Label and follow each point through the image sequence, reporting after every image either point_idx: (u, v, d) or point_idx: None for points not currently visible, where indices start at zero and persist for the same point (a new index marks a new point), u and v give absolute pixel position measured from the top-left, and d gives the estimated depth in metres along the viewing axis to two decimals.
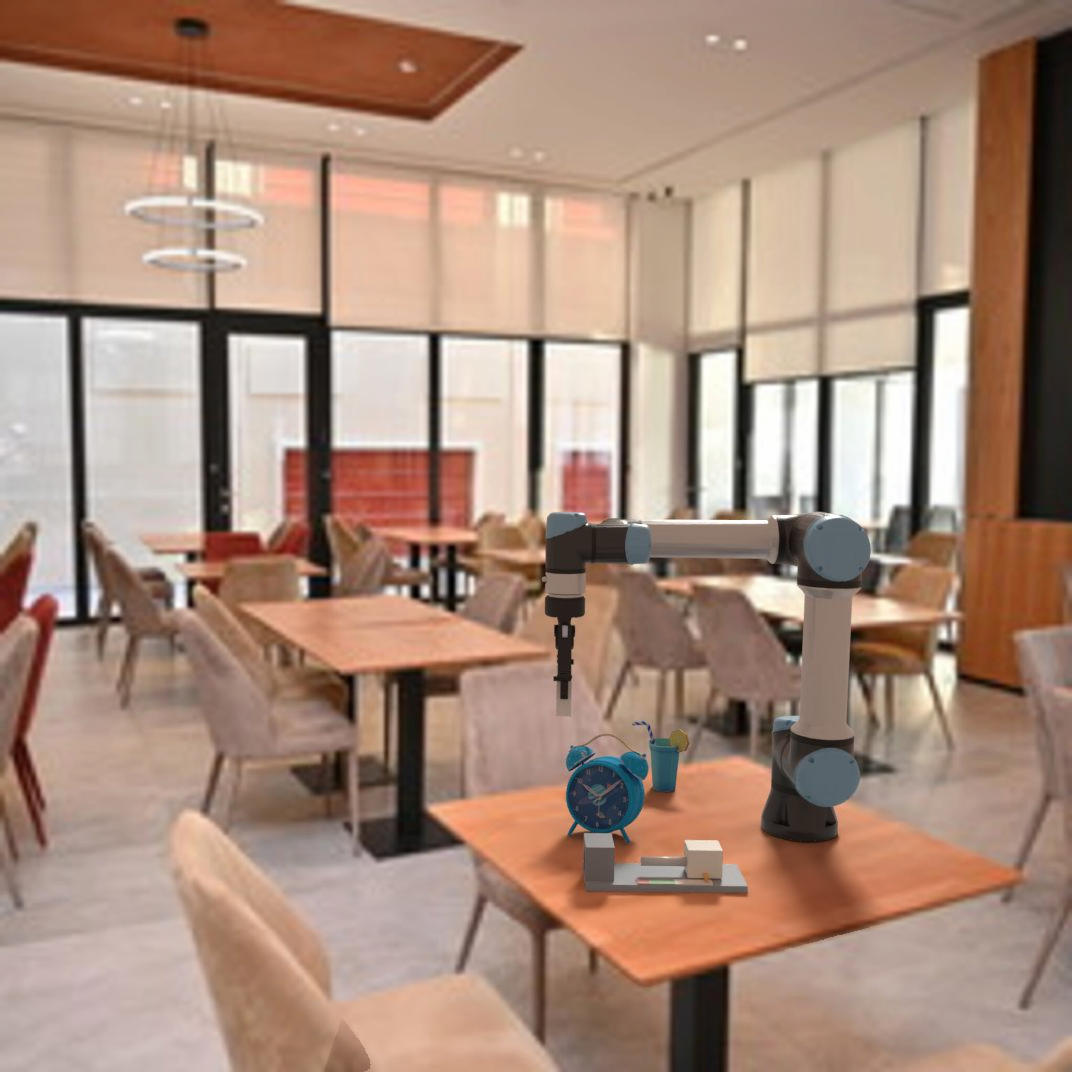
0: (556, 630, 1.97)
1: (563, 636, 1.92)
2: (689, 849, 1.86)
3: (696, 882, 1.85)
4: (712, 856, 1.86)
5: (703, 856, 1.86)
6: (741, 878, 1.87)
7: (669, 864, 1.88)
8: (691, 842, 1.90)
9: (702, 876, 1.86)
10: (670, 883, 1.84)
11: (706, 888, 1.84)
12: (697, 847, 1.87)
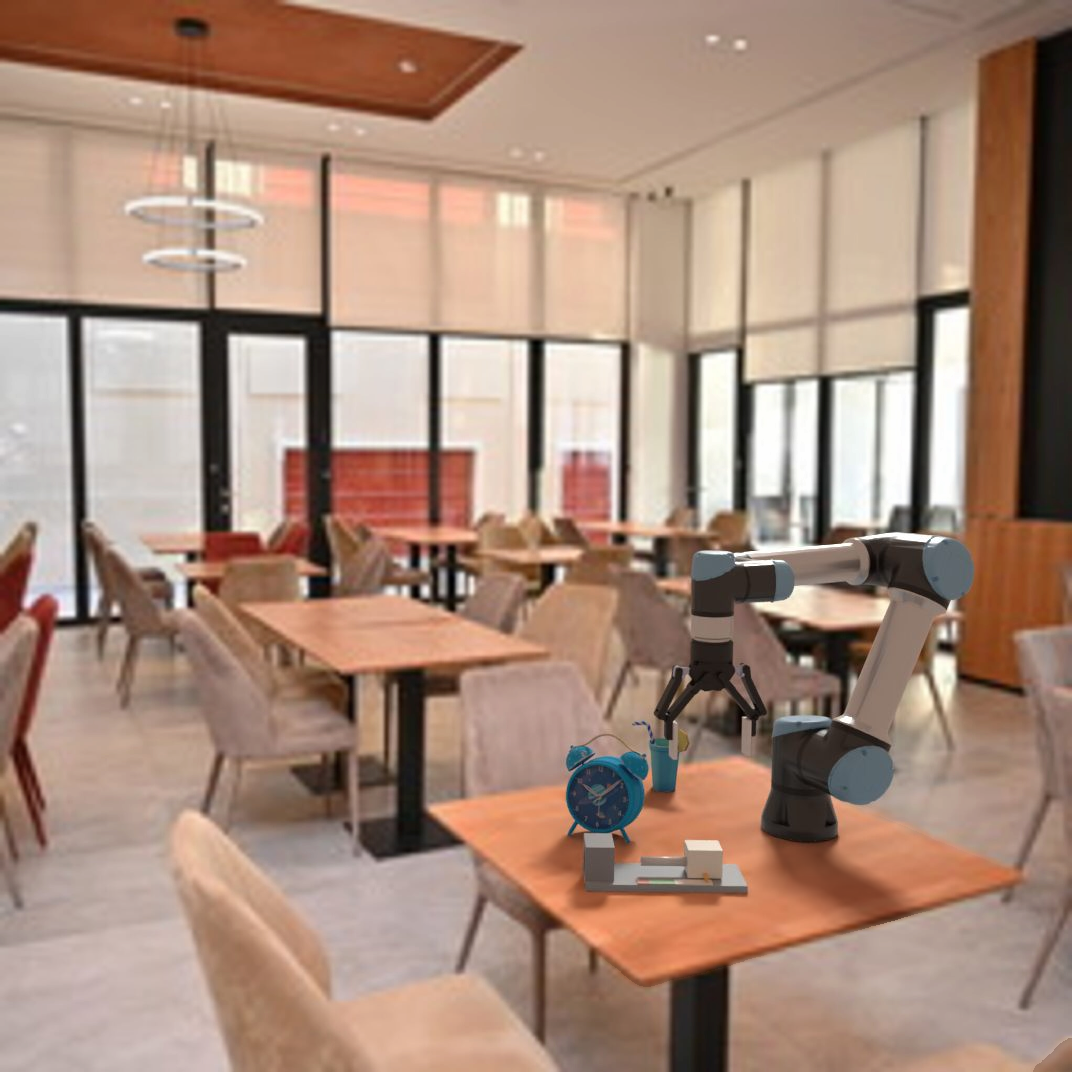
0: None
1: (673, 676, 1.88)
2: (689, 849, 1.86)
3: (696, 882, 1.85)
4: (712, 856, 1.86)
5: (703, 856, 1.86)
6: (741, 878, 1.87)
7: (669, 864, 1.88)
8: (691, 842, 1.90)
9: (702, 876, 1.86)
10: (670, 883, 1.84)
11: (706, 888, 1.84)
12: (697, 847, 1.87)
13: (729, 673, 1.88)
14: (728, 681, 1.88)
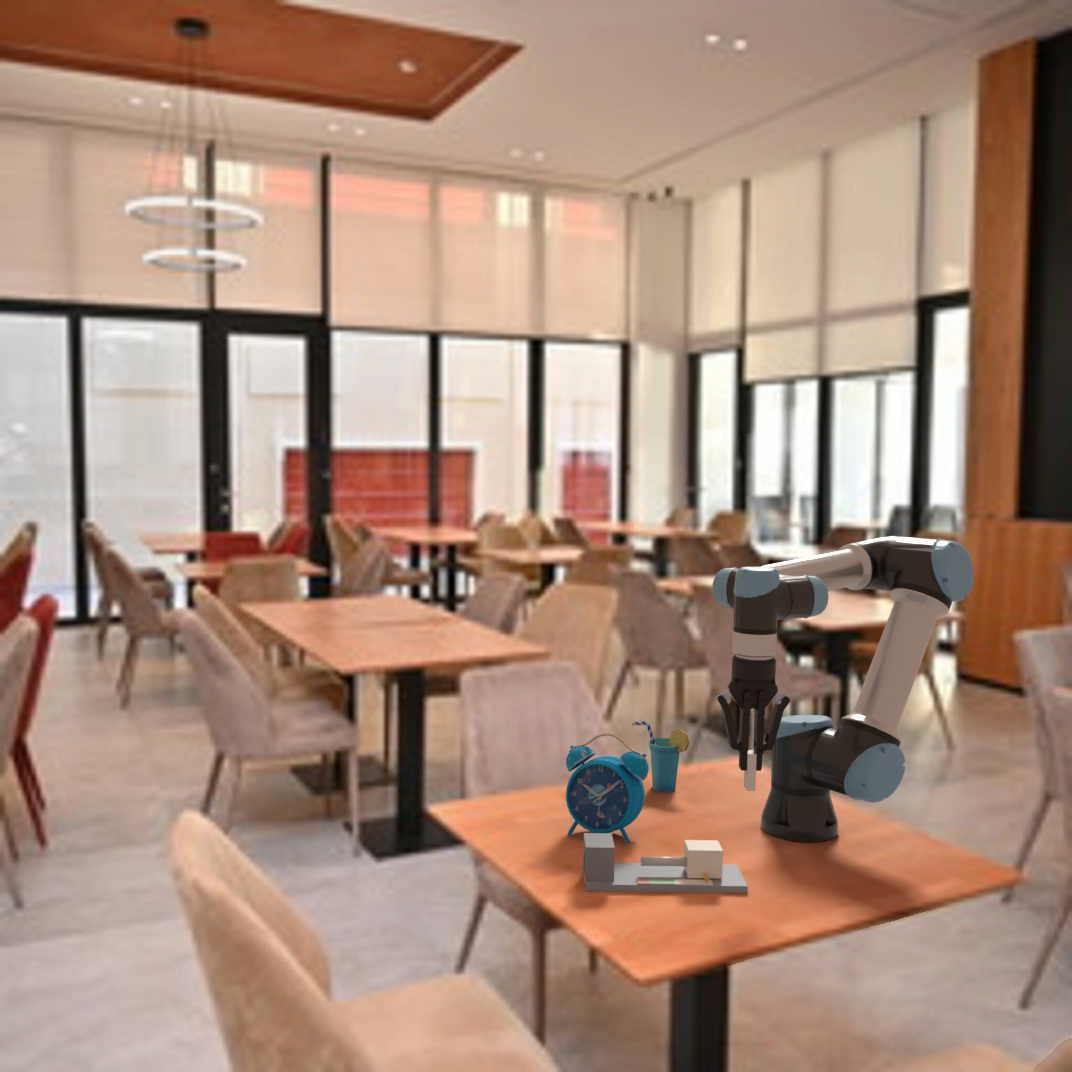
0: None
1: (721, 705, 1.87)
2: (689, 849, 1.86)
3: (696, 882, 1.85)
4: (712, 856, 1.86)
5: (703, 856, 1.86)
6: (741, 878, 1.87)
7: (669, 864, 1.88)
8: (691, 842, 1.90)
9: (702, 876, 1.86)
10: (670, 883, 1.84)
11: (706, 888, 1.84)
12: (697, 847, 1.87)
13: (769, 691, 1.85)
14: (763, 703, 1.85)
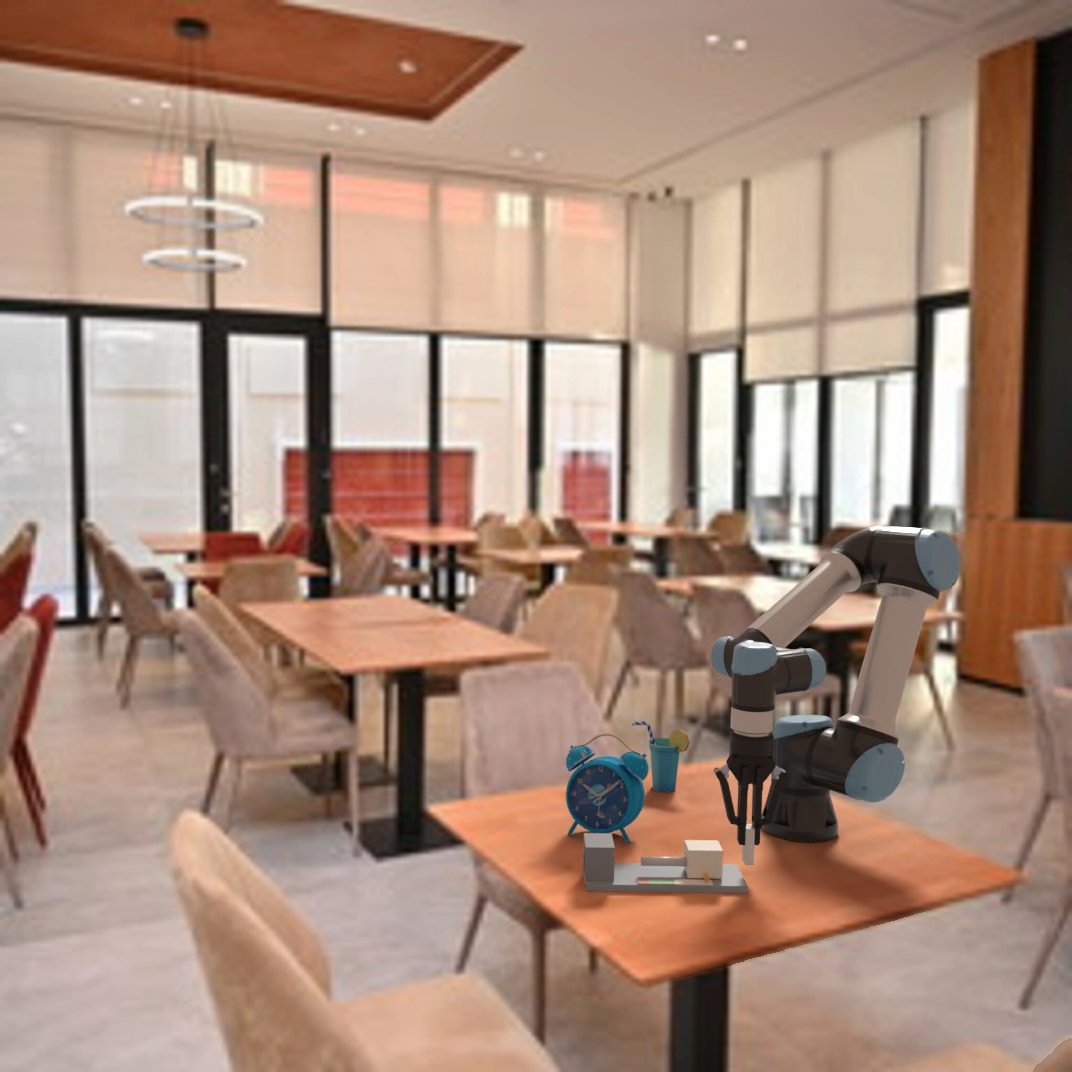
0: None
1: None
2: (689, 849, 1.86)
3: (696, 882, 1.85)
4: (712, 856, 1.86)
5: (703, 856, 1.86)
6: (741, 878, 1.87)
7: (669, 864, 1.88)
8: (691, 842, 1.90)
9: (702, 876, 1.86)
10: (670, 883, 1.84)
11: (706, 888, 1.84)
12: (697, 847, 1.87)
13: (767, 767, 1.86)
14: (761, 779, 1.86)
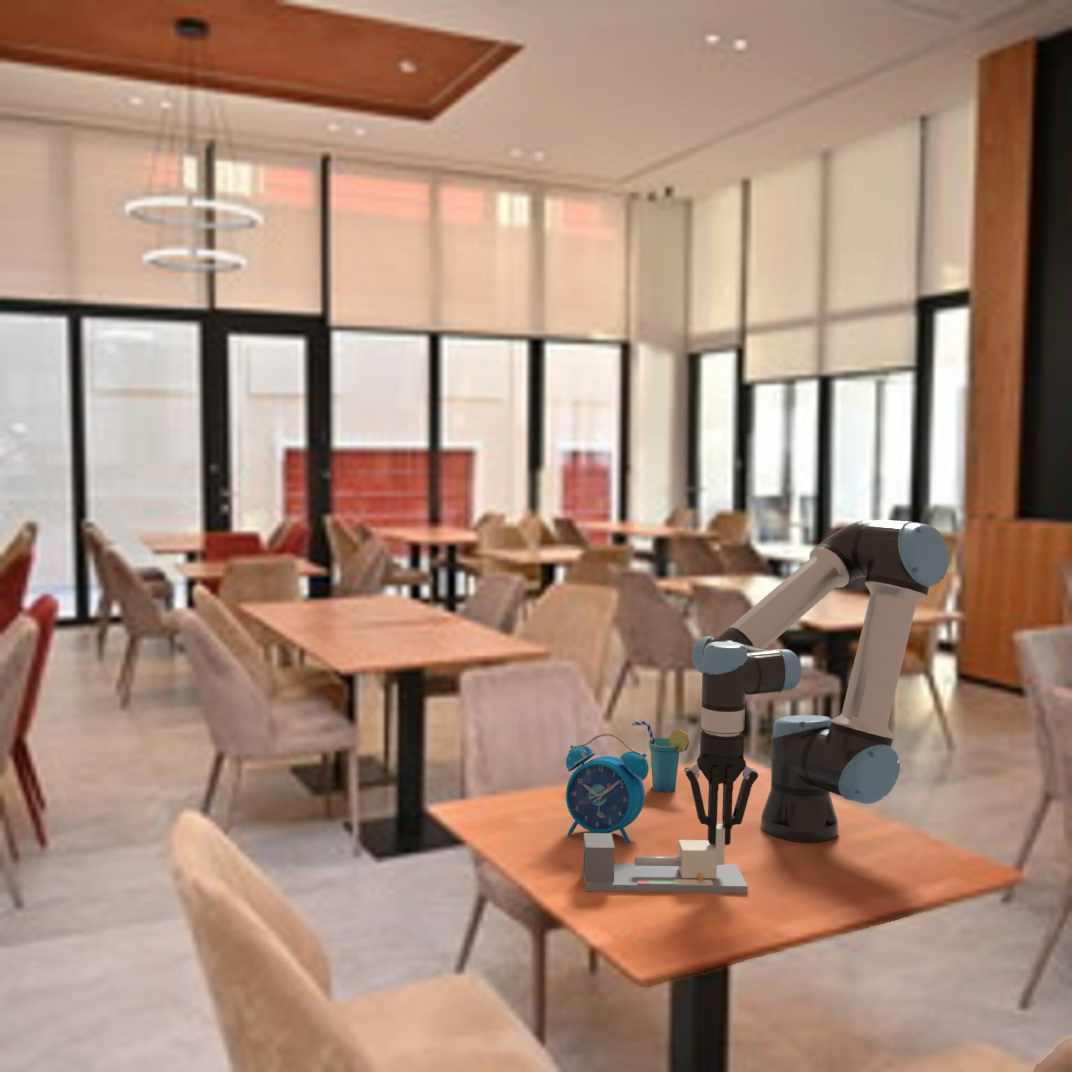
0: None
1: None
2: (683, 849, 1.86)
3: (696, 882, 1.85)
4: (706, 856, 1.86)
5: (697, 856, 1.86)
6: (741, 878, 1.87)
7: (663, 864, 1.88)
8: (685, 842, 1.90)
9: (696, 876, 1.86)
10: (670, 883, 1.84)
11: (706, 888, 1.84)
12: (691, 847, 1.87)
13: (738, 766, 1.86)
14: (732, 779, 1.86)
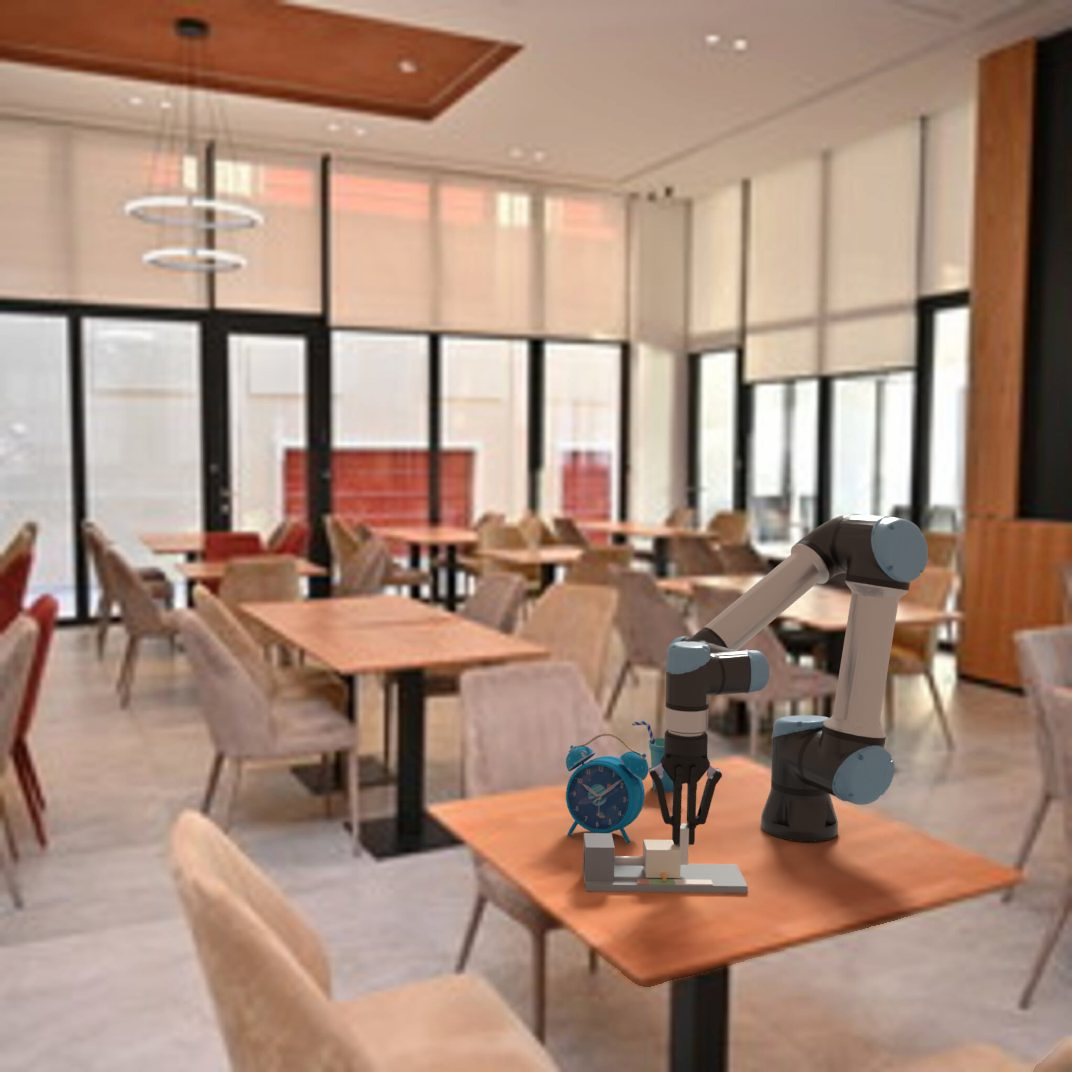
0: None
1: None
2: (647, 849, 1.86)
3: (696, 882, 1.85)
4: (670, 856, 1.86)
5: (661, 856, 1.86)
6: (741, 878, 1.87)
7: (627, 864, 1.88)
8: (650, 842, 1.90)
9: (660, 876, 1.86)
10: (670, 883, 1.84)
11: (706, 888, 1.84)
12: (655, 846, 1.87)
13: (701, 766, 1.86)
14: (695, 779, 1.86)
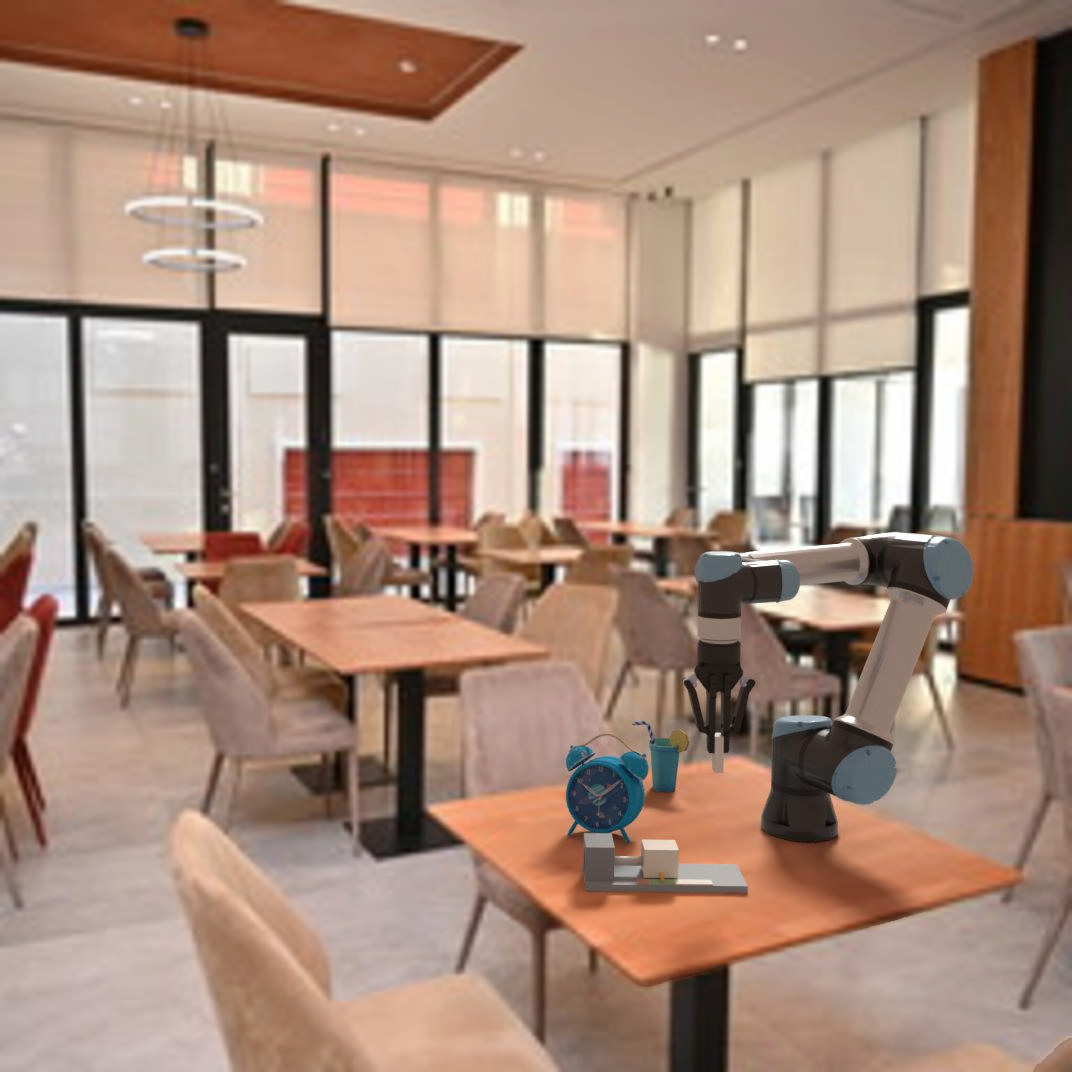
0: None
1: None
2: (645, 849, 1.86)
3: (696, 882, 1.85)
4: (668, 856, 1.86)
5: (659, 856, 1.86)
6: (741, 878, 1.87)
7: (625, 864, 1.88)
8: (648, 842, 1.90)
9: (658, 876, 1.86)
10: (670, 883, 1.84)
11: (706, 888, 1.84)
12: (653, 846, 1.87)
13: (735, 674, 1.87)
14: (729, 686, 1.87)
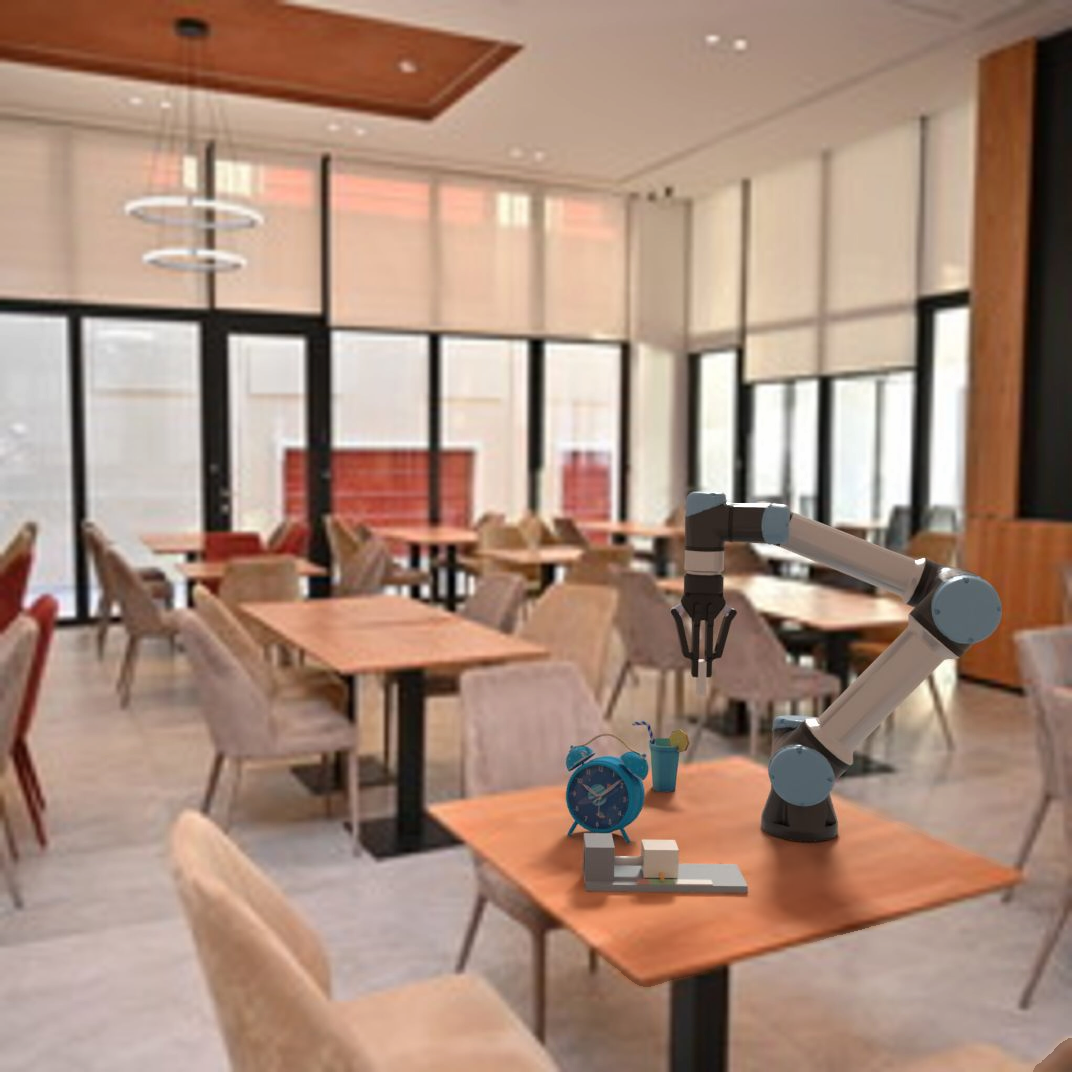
0: None
1: None
2: (645, 849, 1.86)
3: (696, 882, 1.85)
4: (668, 856, 1.86)
5: (659, 856, 1.86)
6: (741, 878, 1.87)
7: (625, 864, 1.88)
8: (648, 842, 1.90)
9: (658, 876, 1.86)
10: (670, 883, 1.84)
11: (706, 888, 1.84)
12: (653, 846, 1.87)
13: (718, 604, 2.03)
14: (712, 615, 2.03)
